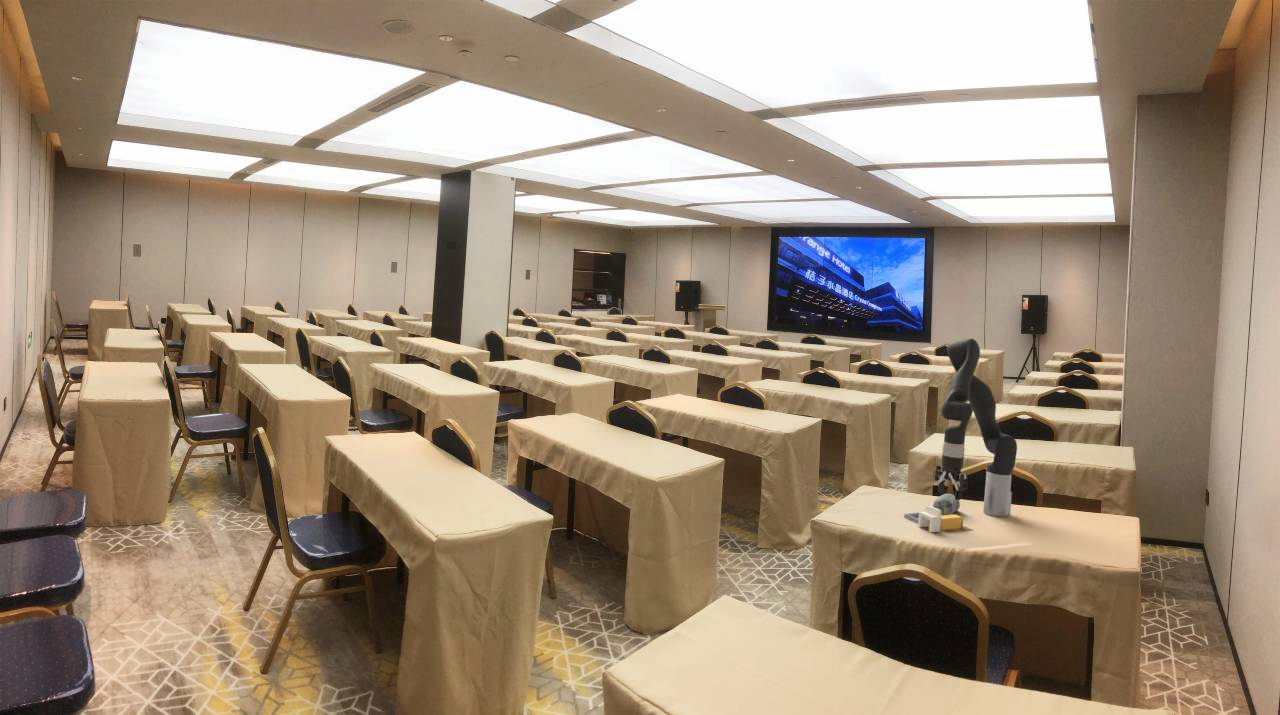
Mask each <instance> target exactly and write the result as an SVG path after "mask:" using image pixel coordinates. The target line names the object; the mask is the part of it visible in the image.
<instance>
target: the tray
mask: <svg viewBox="0 0 1280 715" xmlns="http://www.w3.org/2000/svg"><path fill="white" fill-rule="evenodd" d="M941 516H942V515H941ZM903 517H904V518H905V519H907V520H909V521H911V522H914V523H916V524H918V522H919V512H910V513H904V515H903ZM929 524H930V519H929Z"/></svg>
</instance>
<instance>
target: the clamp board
mask: <svg viewBox="0 0 1280 715" xmlns="http://www.w3.org/2000/svg"><path fill="white" fill-rule="evenodd" d="M963 524H964V520H962V525H961V528H957V529H947V530H941V529H940V531H939V532H931V534H934V535H942V534H950V533H961V532H971V531H973V529H972V528H970V527H968V526H965V525H963ZM929 526H930V524H929ZM929 526H928V527H920V528H921V529H923V530H925V531H928V532H929ZM916 527H918V524H917V525H916Z"/></svg>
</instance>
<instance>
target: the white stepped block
mask: <svg viewBox="0 0 1280 715" xmlns="http://www.w3.org/2000/svg"><path fill="white" fill-rule="evenodd" d="M918 513H919V517H918V519H919V522H918V523H917V525H918V526H917V527H918V528H921V527H928V526H929V519H930V526H929V531H928V532H929V533H932V532H939V531H940V521H941V510H939V509H937V508H934V507H933V505H931V504H926V505H925V510H924V511H918Z"/></svg>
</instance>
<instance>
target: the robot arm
mask: <svg viewBox="0 0 1280 715" xmlns="http://www.w3.org/2000/svg"><path fill="white" fill-rule="evenodd" d="M980 350H981V349H980V345H979V343H978V342H977V340H975V339H974V338H965V339H962V340H958V341H954V342H950V343H949V344H947V346H946V353H947V356H948V359H949V361H950V363H951V365H952V367H953V368H954V370H955V372H956V373H955V374H954V375H953V377H952V379H951V382H950V386H949V391H948V395H947V397H946V399H945V400H944V402H943V404H942V407H941V409H940V413H941V416H942V417H943V418H944V419H945V420H949V421H957V422H960V423H959V424H956V425H948V426H946V427H945V429H944V438H943V445H942V450H941V451H942V452H941V453H942V454H941V463H940V464H941V465H936V466H935V473H934V481H936V482H937V484H938V486H937V491H938V494H941V495H944V494H945V490H946V489H945V488H946V483H947V481H949V482H951V484H952V485H953V486H954V487H955V489H956V490H955V492H954V496H955V500H959V501H961V499H962V496H963V491H967V490H968V485H969V484H968V482H969V474H968V473H962V469H963V468H964V460H965V450H966V449H965V439H966V432H967V428H968V425H969V423H970V420H971V418H972V417H973V416H972V415H974V417H975V420H976V421H977V424H978V426H979V429H980V433H981V436H982V439H983V443H984V446H985V448H986V449H987V451H988V452H990V453H991V454H992V455H994V456H993V461H992V462H990V463H988V464H987V465H986V472H985V473H986V474H985V486H984V499H983V509H982V510H983V513H984V514H986V515H989V516H993V517H1001V518H1004V517H1008V516H1010V515H1011V510H1012V496H1013V492H1012V491H1011V486H1012V474H1013V471H1014V468H1015V465H1016V461H1017V460H1016V459H1017V453H1018V451H1017V450H1018V444H1017V441H1016V439H1015V437H1013V436H1012V435H1009V434H1005V433H1003V432H1002V431H1001V428H1000V427H999V424H998V422H997V419H996V412H997V404H996V400H995V397H994V394H993V392H992V389H991V387H990V386H989V385H988V384H986V383H985V382H984V381H983V380H981V379H980V378H979V377H977V376H975V371H976V369H977V366H978V363H979V361H980V360H979V359H980V355H981V351H980ZM967 401H968V402H967Z"/></svg>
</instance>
